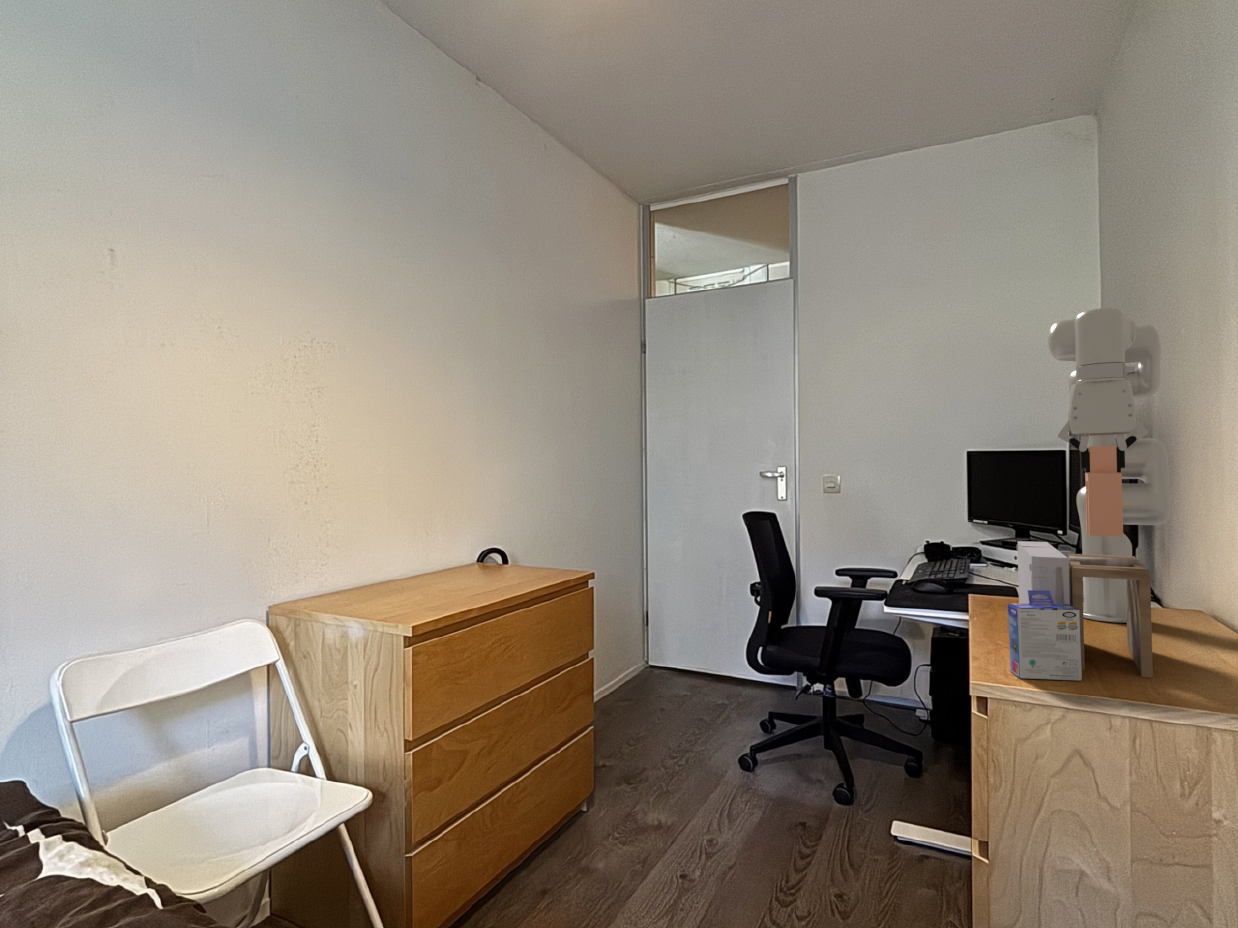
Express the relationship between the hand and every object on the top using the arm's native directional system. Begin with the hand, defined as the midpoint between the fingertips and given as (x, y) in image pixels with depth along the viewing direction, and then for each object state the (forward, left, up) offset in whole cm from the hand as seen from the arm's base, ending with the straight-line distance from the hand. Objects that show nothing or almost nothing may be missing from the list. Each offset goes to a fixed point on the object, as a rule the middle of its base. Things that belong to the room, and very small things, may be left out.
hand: (1102, 471), depth 126 cm
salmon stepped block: (0, 0, -12) cm, 12 cm away
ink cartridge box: (+18, -10, -35) cm, 41 cm away
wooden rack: (0, 0, -35) cm, 35 cm away
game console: (-1, -10, -35) cm, 37 cm away
